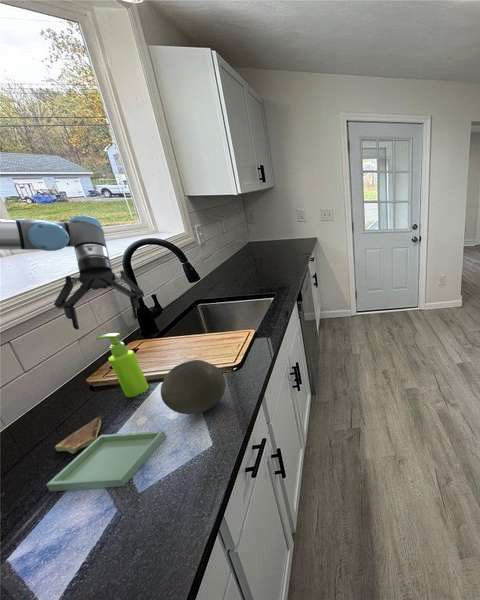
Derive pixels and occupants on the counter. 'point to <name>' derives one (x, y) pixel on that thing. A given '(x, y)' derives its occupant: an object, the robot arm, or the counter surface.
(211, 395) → the dark grey rounded lump
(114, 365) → the soap dispenser
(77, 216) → the robot arm
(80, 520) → the counter surface
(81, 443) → the shard
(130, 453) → the green tray
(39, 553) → the counter surface
